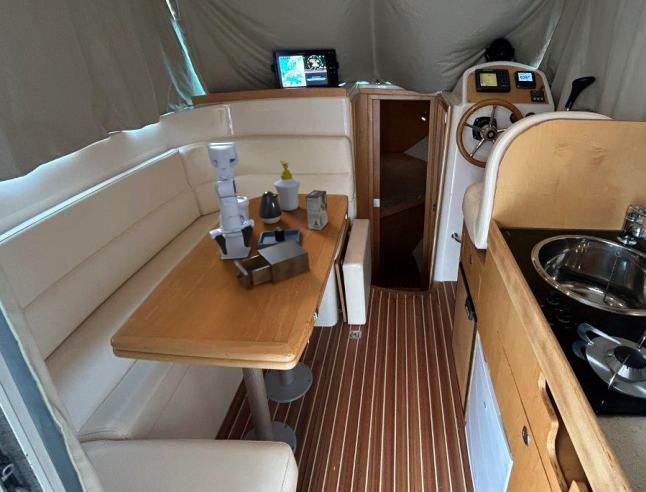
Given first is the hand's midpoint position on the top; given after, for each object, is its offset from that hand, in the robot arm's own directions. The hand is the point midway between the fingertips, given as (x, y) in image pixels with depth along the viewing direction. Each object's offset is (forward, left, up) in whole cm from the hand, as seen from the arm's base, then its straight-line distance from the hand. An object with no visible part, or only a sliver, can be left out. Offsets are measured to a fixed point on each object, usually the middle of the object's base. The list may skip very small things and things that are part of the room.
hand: (236, 250), depth 126 cm
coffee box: (+28, +37, -10) cm, 47 cm away
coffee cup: (-6, +37, -10) cm, 39 cm away
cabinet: (+16, 0, -10) cm, 18 cm away
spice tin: (+12, +24, -9) cm, 28 cm away
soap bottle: (+13, +61, -10) cm, 63 cm away
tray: (+12, +24, -10) cm, 28 cm away
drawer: (+7, -5, -9) cm, 12 cm away
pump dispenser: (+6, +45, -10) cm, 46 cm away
